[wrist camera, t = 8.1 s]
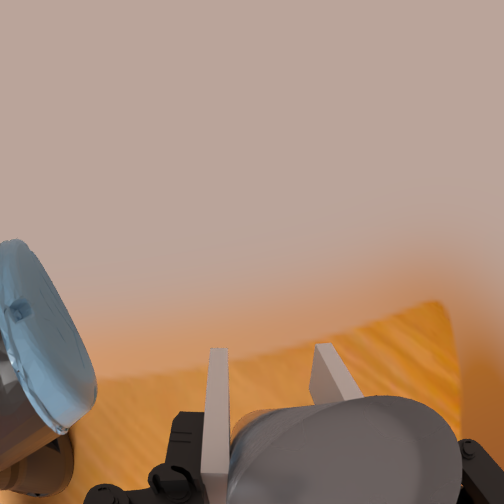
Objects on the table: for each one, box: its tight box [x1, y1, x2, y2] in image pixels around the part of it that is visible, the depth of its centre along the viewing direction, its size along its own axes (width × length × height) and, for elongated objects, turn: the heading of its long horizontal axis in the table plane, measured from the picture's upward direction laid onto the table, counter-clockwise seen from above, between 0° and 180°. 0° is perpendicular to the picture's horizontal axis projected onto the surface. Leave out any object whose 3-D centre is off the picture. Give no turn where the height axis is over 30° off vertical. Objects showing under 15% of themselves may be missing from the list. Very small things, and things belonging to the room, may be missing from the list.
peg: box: [226, 396, 462, 504], centre depth 8 cm, size 4×4×14 cm
